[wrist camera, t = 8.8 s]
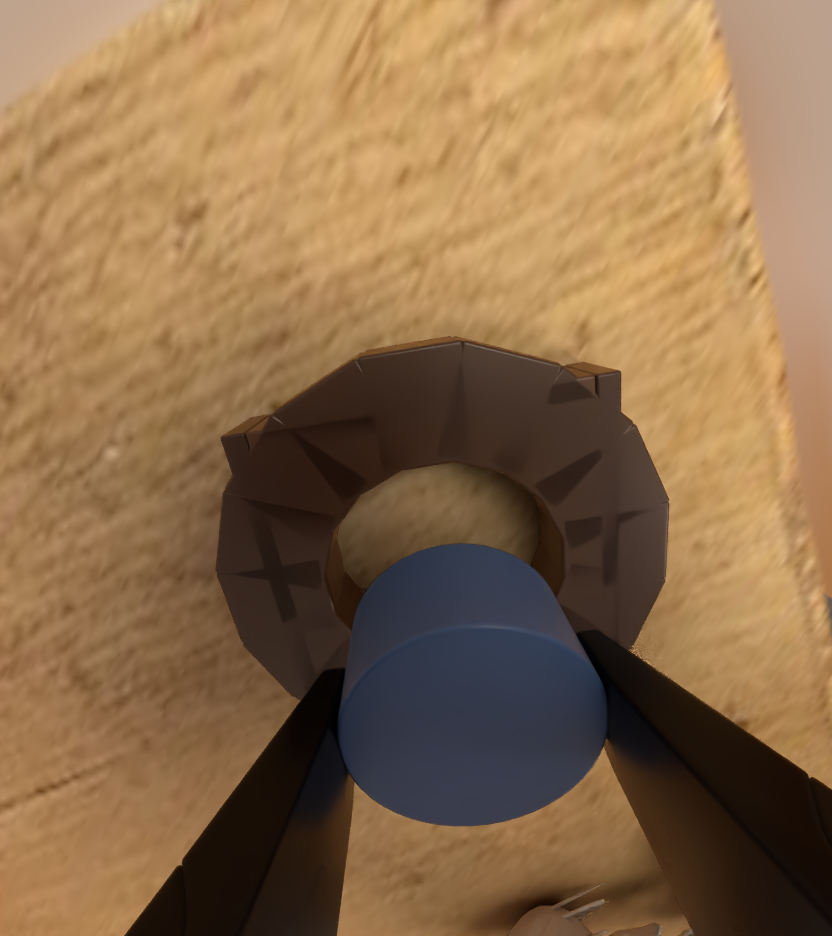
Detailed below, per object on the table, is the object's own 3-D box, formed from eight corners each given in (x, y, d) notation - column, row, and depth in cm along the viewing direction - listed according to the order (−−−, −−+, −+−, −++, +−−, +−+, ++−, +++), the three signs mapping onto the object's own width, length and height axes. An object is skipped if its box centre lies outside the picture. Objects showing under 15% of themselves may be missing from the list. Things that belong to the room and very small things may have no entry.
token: (553, 525, 8) (611, 603, 6) (562, 695, 10) (612, 810, 7) (331, 560, 8) (306, 650, 6) (374, 723, 10) (366, 844, 8)
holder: (630, 305, 11) (680, 302, 9) (627, 658, 14) (661, 708, 13) (190, 380, 11) (146, 392, 9) (300, 706, 15) (286, 763, 13)
